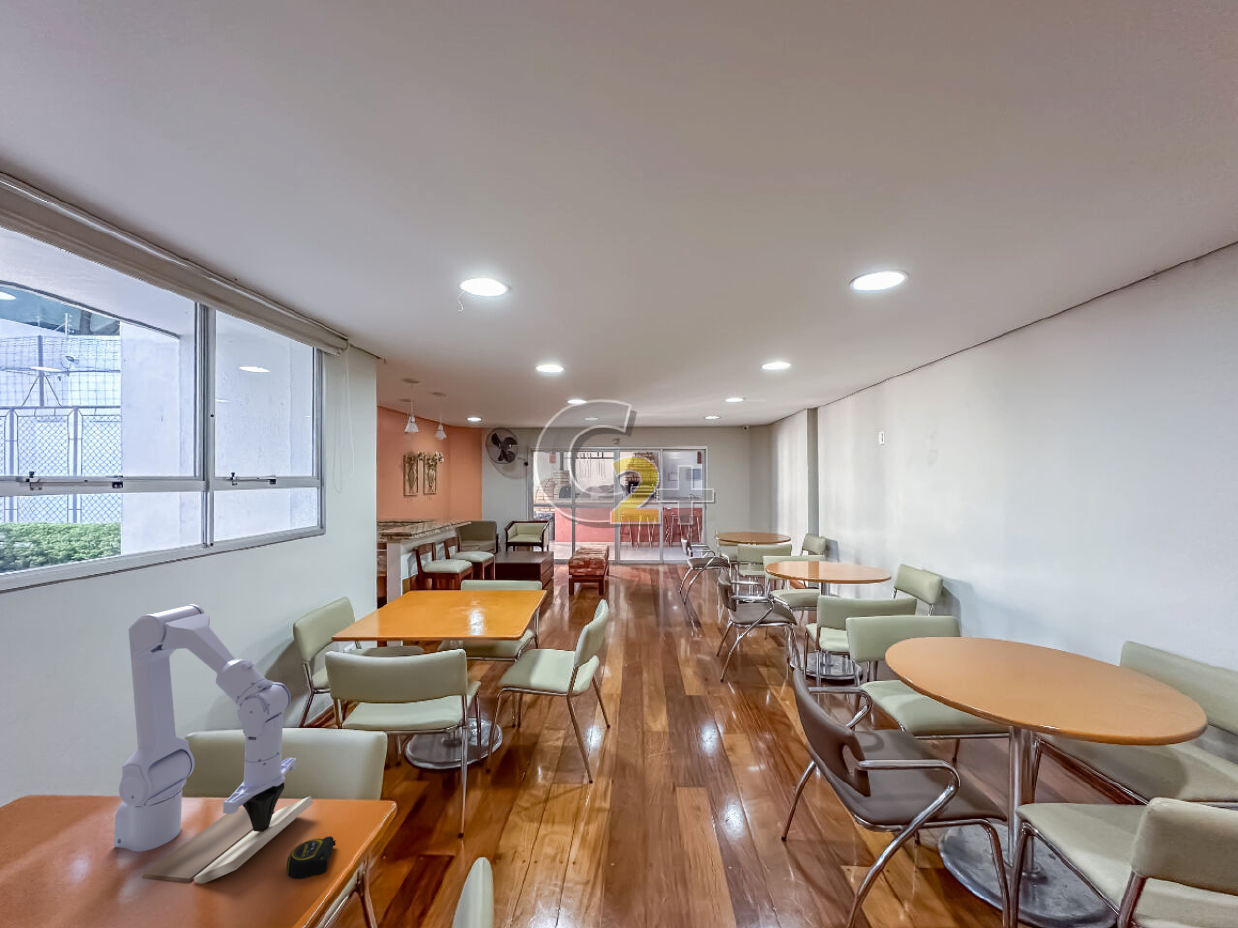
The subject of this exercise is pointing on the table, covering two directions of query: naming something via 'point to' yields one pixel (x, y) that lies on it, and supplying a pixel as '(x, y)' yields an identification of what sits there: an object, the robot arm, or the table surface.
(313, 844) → the tape measure
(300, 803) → the plank
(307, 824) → the table surface
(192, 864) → the grey rectangular panel
